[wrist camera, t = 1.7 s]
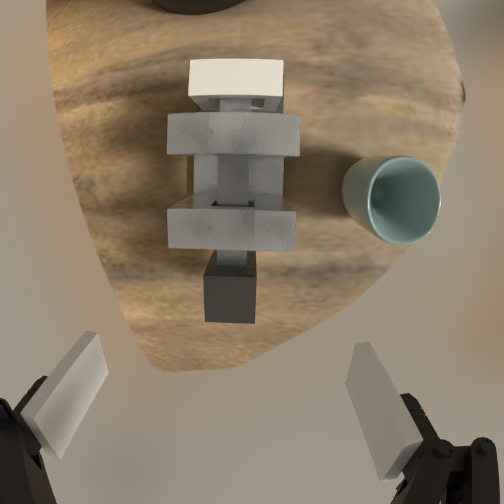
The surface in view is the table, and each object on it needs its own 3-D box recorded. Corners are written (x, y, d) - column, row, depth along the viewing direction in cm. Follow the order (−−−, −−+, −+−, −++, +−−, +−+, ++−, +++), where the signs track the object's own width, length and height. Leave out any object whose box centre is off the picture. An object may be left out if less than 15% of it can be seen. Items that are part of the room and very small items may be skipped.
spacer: (204, 82, 25) (190, 60, 18) (276, 82, 25) (283, 60, 19) (202, 110, 26) (188, 95, 19) (275, 111, 26) (282, 96, 19)
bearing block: (196, 124, 30) (168, 107, 19) (284, 126, 30) (301, 108, 19) (195, 223, 33) (168, 254, 22) (280, 226, 33) (293, 258, 22)
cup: (334, 224, 33) (365, 250, 23) (331, 155, 31) (363, 154, 21) (394, 220, 33) (439, 243, 23) (393, 155, 30) (441, 157, 21)
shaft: (218, 74, 24) (207, 48, 17) (261, 74, 24) (264, 48, 17) (214, 286, 30) (205, 321, 23) (254, 288, 30) (254, 323, 24)
